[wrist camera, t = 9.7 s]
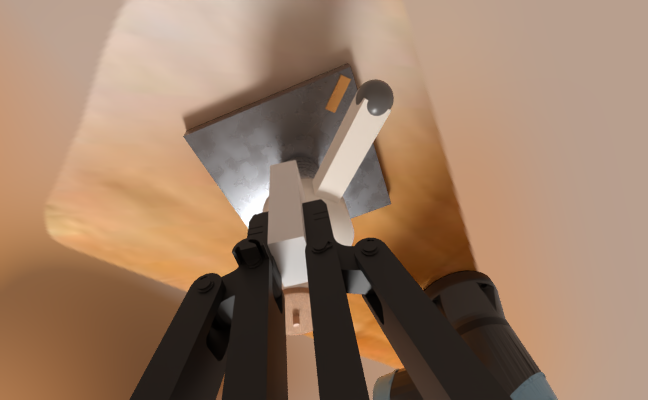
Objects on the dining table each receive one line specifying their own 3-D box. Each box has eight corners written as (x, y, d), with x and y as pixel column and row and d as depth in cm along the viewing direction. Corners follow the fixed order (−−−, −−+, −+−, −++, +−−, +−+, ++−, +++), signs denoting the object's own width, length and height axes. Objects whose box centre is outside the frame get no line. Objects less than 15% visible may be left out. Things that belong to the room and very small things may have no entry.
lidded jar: (285, 303, 58) (287, 353, 50) (247, 272, 52) (243, 324, 44) (335, 278, 56) (345, 326, 48) (302, 243, 50) (307, 292, 42)
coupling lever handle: (325, 252, 37) (330, 278, 34) (251, 234, 34) (248, 261, 31) (420, 95, 28) (439, 112, 24) (328, 51, 25) (336, 63, 21)
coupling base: (388, 197, 46) (410, 242, 39) (263, 243, 48) (262, 294, 41) (347, 63, 35) (368, 89, 27) (186, 131, 37) (163, 173, 29)
